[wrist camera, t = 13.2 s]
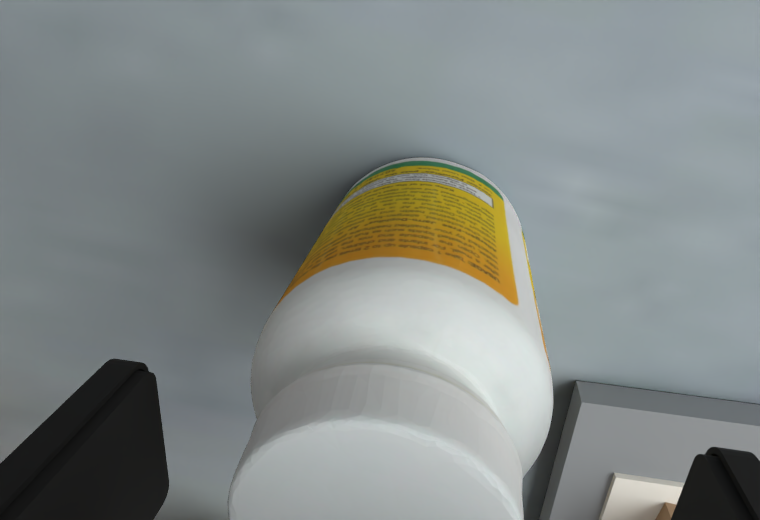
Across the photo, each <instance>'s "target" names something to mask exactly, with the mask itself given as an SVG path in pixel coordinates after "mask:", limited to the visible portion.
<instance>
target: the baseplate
mask: <svg viewBox="0 0 760 520" xmlns="http://www.w3.org/2000/svg"><path fill="white" fill-rule="evenodd" d="M710 447H720V448H727V449H734V450H741V451H747V452H751V453H753V454H754V455H755V456H756V457H757V458H758V459H759V461H760V405H758V404H750V403H743V402H735V401H728V400H720V399H712V398H705V397H697V396H690V395H682V394H674V393H667V392H659V391H652V390H644V389H636V388H629V387H621V386H614V385H606V384H598V383H591V382H583V381H576V383H575V387H574V390H573V394H572V398H571V402H570V405H569V409H568V413H567V417H566V421H565V424H564V428H563V432H562V436H561V439H560V443H559V447H558V451H557V454H556V458H555V462H554V466H553V469H552V473H551V477H550V481H549V485H548V488H547V492H546V496H545V500H544V503H543V507H542V511H541V515H540V518H539V520H655V519H656V517H657V515H658V514H659V512H660V510H661V508H662V507H663V505H664V503H665V502H667V503H672V504H676V505H677V502H678V499H679V497H680V494H681V491H682V489H683V486H684V484H685V481H686V478H687V476H688V473H689V470H690V468H691V465H692V463H693V460H694V458H695V456H696V455H698V454H705V453H706V451H707V450H708V449H709V448H710Z"/></svg>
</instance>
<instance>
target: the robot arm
mask: <svg viewBox="0 0 760 520" xmlns="http://www.w3.org/2000/svg"><path fill="white" fill-rule="evenodd" d="M168 488H169V478H168V470H167V462H166V454H165V446H164V438H163V430H162V422H161V414H160V406H159V398H158V390H157V382H156V377H155V375H154V373H151V372H149V371H148V367H147V366H146V365H145V364H144V363H140V362H134V361H127V360H120V359H111V360H109V361H108V362H106V363H105V364H104V365H103V366H102V367H101V368H100V369H99V370H98V371H97V372H96V373H95V374H94V375H92V376H91V377H90V378H89V379H88V380H87V381H86V382H85V383H84V384H83V385H82V386H81V387H80V388H79V389H78V390H77V391H76V392H75V393H74V394H73V395H72V396H71V397H70V398H68V399H67V400H66V401H65V402H64V403H63V404H62V405H61V406H60V407H59V408H58V409H57V410H56V411H55V412H54V413H53V414H52V415H51V416H50V417H49V418H48V419H47V420H46V421H44V422H43V423H42V424H41V425H40V426H39V427H38V428H37V429H36V430H35V431H34V432H33V433H32V434H31V435H30V436H29V437H28V438H27V439H26V440H25V441H24V442H23V443H22V444H20V445H19V446H18V447H17V448H16V449H15V450H14V451H13V452H12V453H11V454H10V455H9V456H8V457H7V458H6V459H5V460H4V461H3V462H2V463H1V464H0V520H153V519H154V518H155V516H156V514H157V513H158V511H159V510H160V508H161V506H162V505H163V503H164V501H165V499H166V496H167V493H168ZM671 520H760V461H759V459H758V458H757V457H756V456H755V455H754V454H753V453H751V452H747V451H741V450H734V449H727V448H720V447H710V448H709V449H708V450H707V451H706V453H705V454H698V455H696V456H695V458H694V460H693V463H692V465H691V468H690V470H689V473H688V476H687V478H686V481H685V484H684V486H683V489H682V491H681V494H680V497H679V499H678V502H677V505H676V507H675V510H674V512H673V515H672V518H671Z"/></svg>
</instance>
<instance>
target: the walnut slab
mask: <svg viewBox="0 0 760 520" xmlns="http://www.w3.org/2000/svg"><path fill="white" fill-rule="evenodd" d="M675 507H676V504H672V503H667V502H665V503H664V505H663V507H662V508H661V510H660V512H659V514H658V515H657V517H656V519H655V520H671V518H672V515H673V512H674V510H675Z"/></svg>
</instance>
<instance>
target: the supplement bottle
mask: <svg viewBox="0 0 760 520" xmlns="http://www.w3.org/2000/svg"><path fill="white" fill-rule="evenodd" d="M251 393H252V401H253V407H254V411H255V414H256V418H257V421H256V423H255V425H254V428H253V431H252V434H251V437H250V439H249V442H248V444H247V446H246V448H245V450H244V453H243V455H242V457H241V459H240V461H239V464H238V466H237V469H236V471H235V474H234V477H233V480H232V482H231V486H230V491H229V497H228V515H229V520H524V515H523V501H522V481H523V477H524V476H525V475H526V473H527V472H528V471H529V469H530V468H531V467H532V465H533V464H534V462H535V461H536V459H537V458H538V456H539V454H540V452H541V450H542V448H543V445H544V443H545V441H546V438H547V435H548V432H549V429H550V424H551V419H552V412H553V384H552V377H551V370H550V365H549V359H548V353H547V349H546V345H545V339H544V334H543V329H542V324H541V320H540V315H539V310H538V305H537V301H536V297H535V291H534V287H533V281H532V275H531V270H530V265H529V259H528V254H527V248H526V243H525V239H524V234H523V231H522V227H521V224H520V221H519V219H518V216H517V214H516V212H515V210H514V208H513V207H512V205H511V204H510V202H509V201H508V199H507V198H506V196H505V195H504V194H503V193H502V192H501V191H500V190H499V188H498V187H497V186H496V185H495V184H494V183H492V182H491V181H490V180H489V179H487V178H486V177H485V176H483V175H482V174H480V173H478V172H476V171H474V170H472V169H470V168H467V167H465V166H463V165H460V164H457V163H454V162H451V161H447V160H442V159H436V158H408V159H402V160H398V161H395V162H391V163H388V164H386V165H383V166H381V167H379V168H377V169H375V170H373V171H372V172H370V173H368V174H367V175H366V176H364V177H363V178H362V179H360V180H359V181H358V182H357V183H356V184H355V185H354V186H353V187H352V188H351V189H350V190H349V191H348V193H347V194H346V196H345V197H344V198H343V200H342V201H341V203H340V204H339V206H338V207H337V209H336V210H335V212H334V214H333V215H332V217H331V218H330V220H329V221H328V223H327V224H326V226H325V227H324V229H323V231H322V233H321V235H320V236H319V238H318V239H317V241H316V243H315V244H314V246H313V247H312V249H311V251H310V252H309V254H308V256H307V257H306V259H305V261H304V262H303V264H302V265H301V267H300V268H299V270H298V272H297V273H296V275H295V277H294V278H293V280H292V282H291V283H290V285H289V286H288V288H287V290H286V291H285V293H284V295H283V296H282V298H281V299H280V301H279V303H278V304H277V306H276V307H275V309H274V310H273V312H272V314H271V315H270V317H269V319H268V320H267V322H266V324H265V326H264V328H263V331H262V333H261V335H260V337H259V340H258V343H257V346H256V349H255V353H254V357H253V362H252V369H251Z"/></svg>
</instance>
